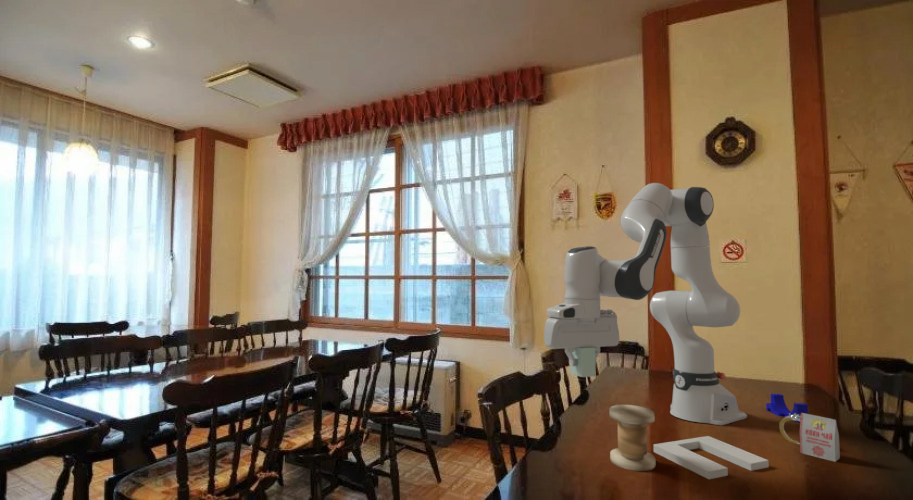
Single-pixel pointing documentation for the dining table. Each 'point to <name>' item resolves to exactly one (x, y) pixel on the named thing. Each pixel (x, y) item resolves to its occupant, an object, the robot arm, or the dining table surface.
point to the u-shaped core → (702, 465)
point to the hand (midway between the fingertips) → (582, 365)
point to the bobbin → (632, 437)
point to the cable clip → (785, 407)
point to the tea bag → (819, 437)
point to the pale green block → (584, 362)
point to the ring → (792, 417)
